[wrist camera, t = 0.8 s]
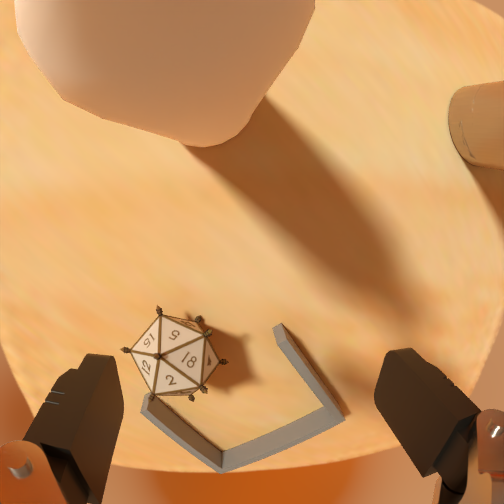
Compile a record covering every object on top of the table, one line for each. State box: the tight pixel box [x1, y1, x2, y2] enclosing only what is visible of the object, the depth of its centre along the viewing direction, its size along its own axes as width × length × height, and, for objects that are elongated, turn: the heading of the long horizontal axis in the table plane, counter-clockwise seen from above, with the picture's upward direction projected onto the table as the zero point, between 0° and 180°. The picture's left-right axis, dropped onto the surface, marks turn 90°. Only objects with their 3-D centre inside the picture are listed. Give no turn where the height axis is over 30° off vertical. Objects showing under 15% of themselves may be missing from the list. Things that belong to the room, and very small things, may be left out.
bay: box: [140, 323, 345, 474], centre depth 32 cm, size 18×15×3 cm
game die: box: [120, 305, 229, 403], centre depth 26 cm, size 9×8×10 cm
